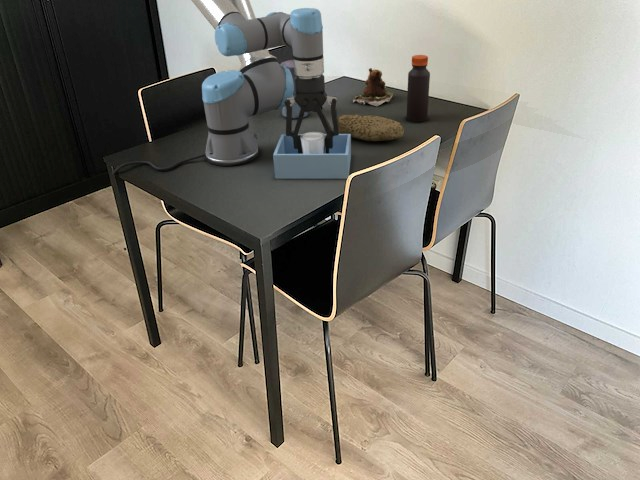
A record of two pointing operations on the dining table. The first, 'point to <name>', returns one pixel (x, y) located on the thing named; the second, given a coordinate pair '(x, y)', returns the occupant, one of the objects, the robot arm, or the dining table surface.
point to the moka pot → (295, 107)
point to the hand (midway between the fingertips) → (314, 159)
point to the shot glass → (313, 143)
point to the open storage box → (312, 160)
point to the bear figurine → (374, 90)
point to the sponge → (370, 127)
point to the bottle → (418, 89)
